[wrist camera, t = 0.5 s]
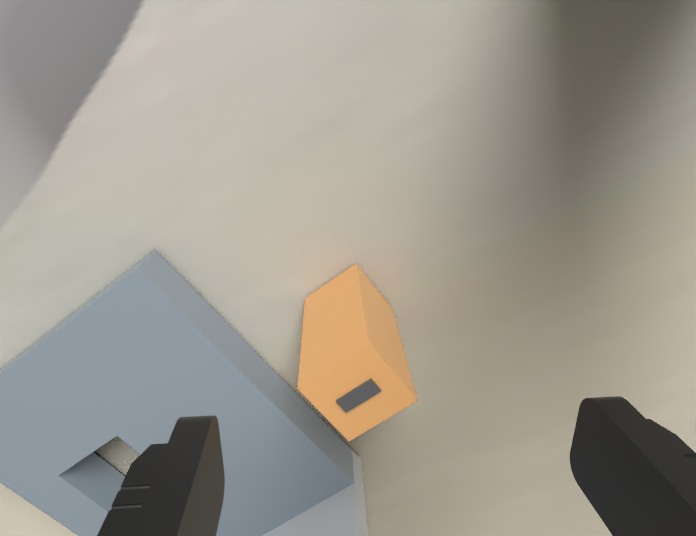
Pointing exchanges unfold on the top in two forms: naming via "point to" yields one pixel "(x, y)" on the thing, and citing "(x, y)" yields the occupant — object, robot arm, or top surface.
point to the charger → (353, 355)
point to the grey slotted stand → (168, 413)
